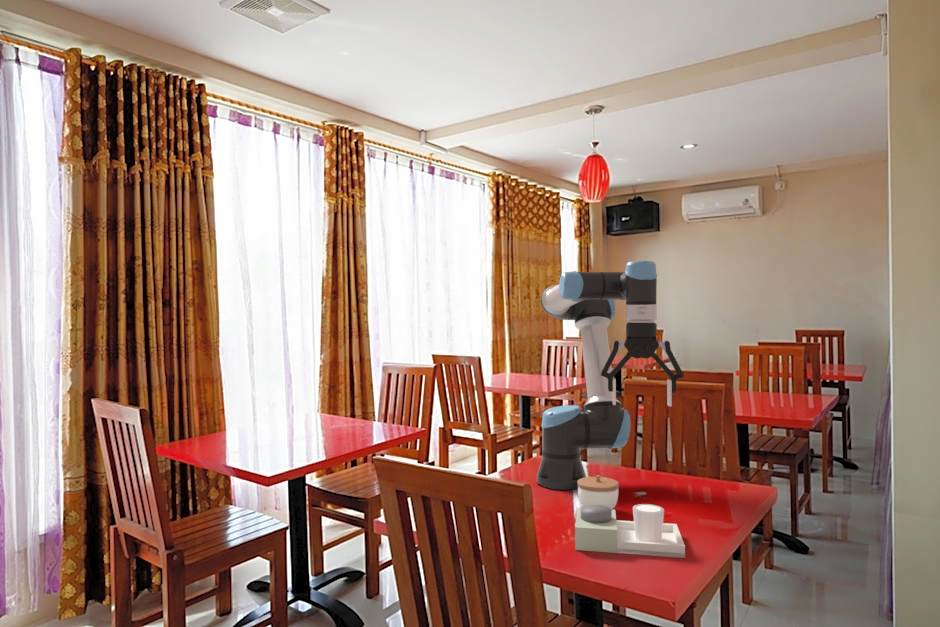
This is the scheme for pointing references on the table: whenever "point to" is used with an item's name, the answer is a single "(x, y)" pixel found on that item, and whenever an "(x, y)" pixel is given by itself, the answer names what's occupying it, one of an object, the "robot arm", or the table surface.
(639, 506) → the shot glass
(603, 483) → the lidded jar
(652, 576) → the table surface
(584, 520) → the knobbed tray panel
